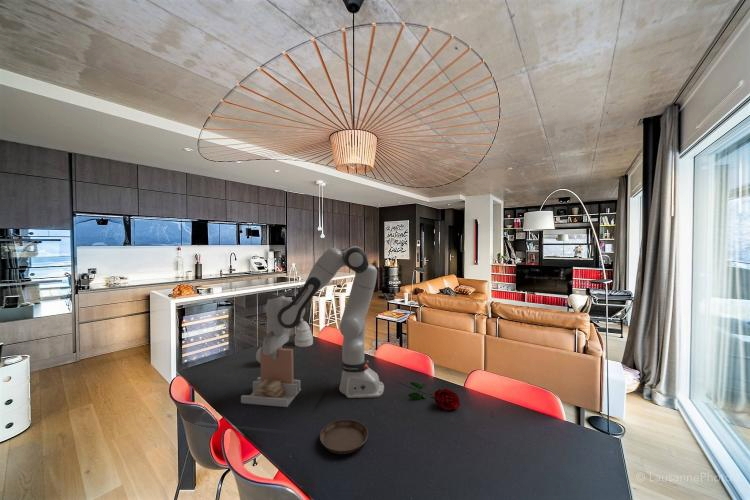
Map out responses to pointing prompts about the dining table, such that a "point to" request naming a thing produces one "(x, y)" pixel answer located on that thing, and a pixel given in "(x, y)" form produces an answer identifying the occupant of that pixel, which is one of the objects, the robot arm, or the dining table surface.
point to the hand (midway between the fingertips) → (276, 356)
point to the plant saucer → (343, 436)
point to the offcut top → (269, 385)
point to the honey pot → (303, 335)
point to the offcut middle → (270, 393)
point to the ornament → (258, 354)
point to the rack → (290, 394)
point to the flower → (438, 397)
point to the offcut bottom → (280, 395)
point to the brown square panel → (277, 366)
